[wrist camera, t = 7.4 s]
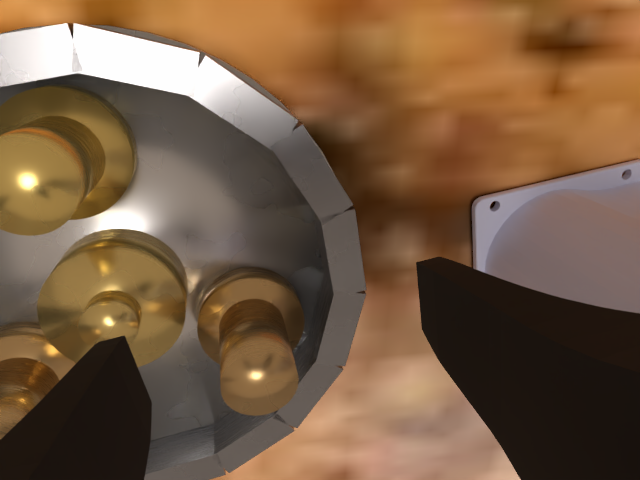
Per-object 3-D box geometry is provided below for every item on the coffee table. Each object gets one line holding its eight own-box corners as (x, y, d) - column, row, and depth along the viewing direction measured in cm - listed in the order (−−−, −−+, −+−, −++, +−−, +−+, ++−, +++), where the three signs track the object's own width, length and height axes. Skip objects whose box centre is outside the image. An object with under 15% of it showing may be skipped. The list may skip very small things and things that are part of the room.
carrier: (311, -19, 18) (353, -43, 12) (372, 391, 26) (413, 480, 21) (-293, 82, 15) (-556, 106, 10) (-12, 500, 24) (-76, 632, 18)
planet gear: (125, 81, 17) (93, 95, 12) (147, 203, 19) (126, 254, 14) (-18, 87, 16) (-107, 105, 12) (19, 215, 18) (-44, 273, 13)
